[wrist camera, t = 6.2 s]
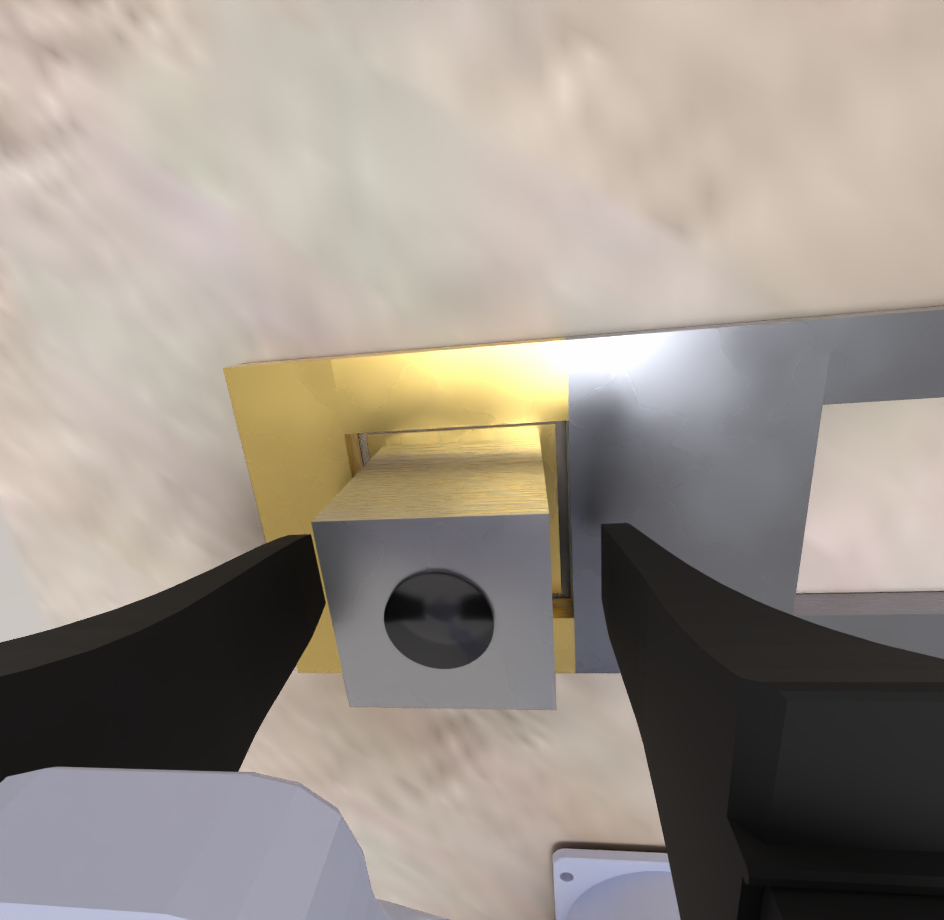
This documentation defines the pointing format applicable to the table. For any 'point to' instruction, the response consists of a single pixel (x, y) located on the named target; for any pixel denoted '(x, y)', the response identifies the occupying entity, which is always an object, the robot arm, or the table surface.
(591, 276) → the table surface
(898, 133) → the table surface
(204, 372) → the table surface
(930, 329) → the rail
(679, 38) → the table surface
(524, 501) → the grey cube with hole
